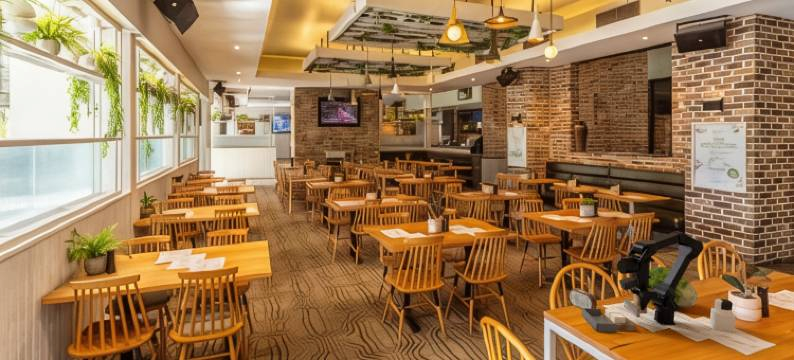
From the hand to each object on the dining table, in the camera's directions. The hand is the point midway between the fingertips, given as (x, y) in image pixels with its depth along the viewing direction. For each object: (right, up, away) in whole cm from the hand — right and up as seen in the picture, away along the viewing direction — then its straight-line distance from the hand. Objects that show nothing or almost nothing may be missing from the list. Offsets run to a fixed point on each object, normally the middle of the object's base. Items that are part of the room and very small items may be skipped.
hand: (640, 308), depth 205 cm
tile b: (-10, -5, -2) cm, 12 cm away
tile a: (-10, -4, +4) cm, 12 cm away
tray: (-17, -7, +1) cm, 18 cm away
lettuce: (+25, -6, +24) cm, 36 cm away
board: (-9, -7, +1) cm, 11 cm away
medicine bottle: (+33, -8, -2) cm, 34 cm away
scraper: (0, -2, 0) cm, 2 cm away
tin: (-17, -6, +20) cm, 27 cm away
